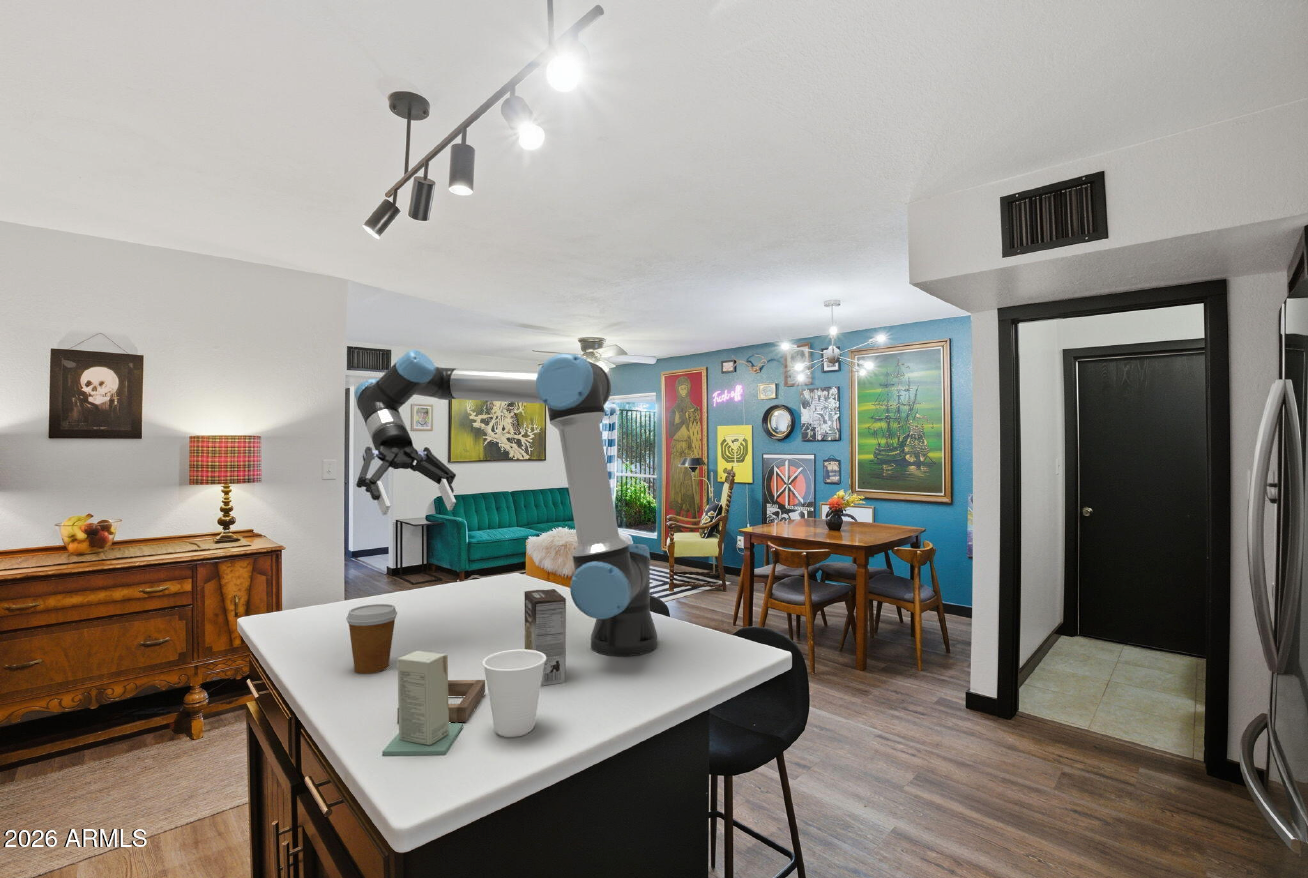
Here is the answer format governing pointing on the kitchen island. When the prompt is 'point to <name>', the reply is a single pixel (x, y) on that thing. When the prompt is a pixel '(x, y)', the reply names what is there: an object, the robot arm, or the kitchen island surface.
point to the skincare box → (423, 697)
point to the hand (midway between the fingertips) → (420, 508)
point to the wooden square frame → (472, 694)
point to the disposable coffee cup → (371, 636)
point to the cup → (514, 689)
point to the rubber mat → (423, 749)
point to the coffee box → (547, 631)
